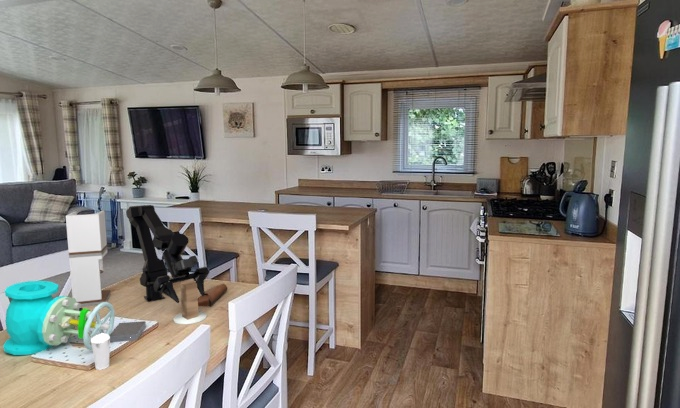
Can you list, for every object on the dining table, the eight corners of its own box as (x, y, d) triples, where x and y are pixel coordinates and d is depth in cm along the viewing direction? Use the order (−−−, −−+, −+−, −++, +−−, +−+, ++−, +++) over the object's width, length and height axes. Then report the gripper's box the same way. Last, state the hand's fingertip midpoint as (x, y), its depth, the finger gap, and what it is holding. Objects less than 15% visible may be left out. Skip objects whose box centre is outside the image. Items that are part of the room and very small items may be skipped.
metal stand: (119, 328, 136) (119, 323, 136) (145, 326, 138) (145, 321, 138) (109, 342, 127) (108, 336, 126) (137, 340, 128) (136, 333, 128)
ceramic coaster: (169, 317, 146) (169, 315, 146) (200, 309, 153) (200, 308, 153) (178, 327, 137) (178, 325, 137) (211, 319, 144) (211, 317, 144)
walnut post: (182, 316, 145) (180, 283, 143) (192, 313, 148) (191, 281, 146) (187, 319, 142) (186, 286, 141) (198, 316, 145) (197, 283, 144)
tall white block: (105, 304, 159) (98, 214, 154) (73, 307, 155) (65, 215, 151) (110, 294, 169) (104, 210, 165) (80, 297, 166) (73, 211, 162)
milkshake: (94, 363, 114) (92, 328, 113) (115, 362, 114) (112, 328, 113) (86, 371, 110) (83, 336, 108) (107, 370, 110) (104, 335, 109)
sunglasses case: (207, 290, 174) (215, 277, 173) (222, 299, 174) (229, 286, 173) (190, 306, 156) (198, 292, 155) (206, 315, 156) (214, 301, 155)
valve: (30, 277, 129) (124, 290, 128) (28, 331, 131) (120, 344, 130) (-10, 293, 115) (96, 307, 114) (-11, 352, 117) (92, 367, 116)
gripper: (155, 254, 138) (171, 293, 132) (205, 245, 152) (223, 280, 145) (146, 272, 144) (162, 310, 138) (196, 262, 158) (212, 296, 152)
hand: (191, 299), depth 143 cm, fingers open, 9 cm apart
